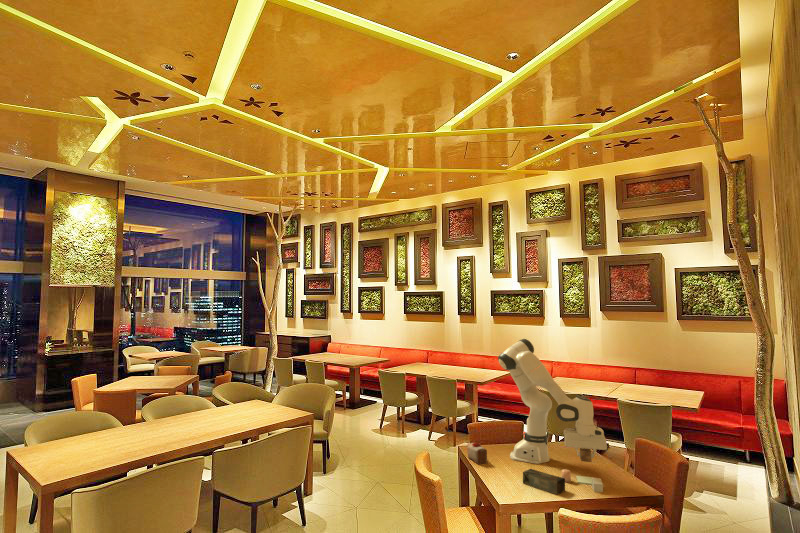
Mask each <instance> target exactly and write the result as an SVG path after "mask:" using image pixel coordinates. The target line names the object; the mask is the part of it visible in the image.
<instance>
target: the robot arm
mask: <svg viewBox="0 0 800 533" xmlns="http://www.w3.org/2000/svg"><path fill="white" fill-rule="evenodd" d="M534 352H535V347H534V345H533V344H532V342H531V341H530V340H529V339H527V338H522V339H519V340H518V341H516V342H515V343H513V344H511V345H510V346H509V347H508V348H506V349H505V350H504V351H503V352H500V354H499V355H498V357H497V361H498V364H499V365H500V367H501V368H502V369H503V370H506V371H508V372H509V374H510V376H511V378H512V379H513V382H514V383H515V385H516V386H517V388H518V391H519V393H520V398H521V401H522V402H523V403H524V405H525V406H526V407H529V415H528V417H527V419H526V431H523V432H522V435H523V436H522V437H523V438H522V440H519V441H518V442H517V443H516V444H515V445H514V448H513V450H512V451H511V452H510V454H509V458H510V460H513V461H518V462H525V463H529V464H535V465H540V464H542V463H543V464H544V463H549V462H550V460H551V458H550V456H549V455H550V454H549V449H548V443H549V442H548V441H549V438H548V434H547V433H548V432H547V419H548V415H549V412H550V411H551V409H552V406H553V401H552V399H551V398H550V397H549V396H548V395H547V394H546V393H545V392H542V391H540V390H539V389H538V387H540V388H543V389H545V390H546V391H548V392H549V394H550V395H551V397H552V398H553V399H554V400H555V401H556V402H557V404H558V405H557V407H556V408H555V413H556V416H557V418H558V419H559V420H561V421H562V422H566V423H567V422H568V423H569V422H575V428H572V427H571V428H569V427H566V428H564V430H563V437H564V445H565V447H566V448H574V450H575V451H576V453H577V457H581V453H580V451H579V449H580V448H585V449H590V450H593V451H592V452H591V458H593V459H595V454H596V453H597V450H600V451H601V450H602V451H606V450H607V449H608V446H607V445H608V444H607V440H606V437H605V434H604V433H605V432H604V430H603V429H602V428H601V427H598V426H596V425H595V423H594V405H593V401H592V400H591V399H590V398H588V397H585V396H582V395H581V396H580V395H578V396H576V397H575V398H571V397H570V396H568V395H567V394H566V393H565V391H564V390H563V389H561V387H560V386H559V384H558V383H557V382H556V381H555V380H554V378H553V377H552V375H551V373H550V372H549V371H548V369H547V368H546V366H545V365H544V363H543V362H542V361H541V360H540V359H539V358H538V357H537V355H536V354H535V353H534Z"/></svg>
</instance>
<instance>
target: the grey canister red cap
mask: <svg viewBox="0 0 800 533" xmlns="http://www.w3.org/2000/svg"><path fill="white" fill-rule="evenodd" d="M466 451H467V458H468V459H470V460H472V461H473V462H475V463H476V464H477V465H485V464H487V463H488V450H487V449H486V447H485V448H484V447H483V446H482V445H481V443H479V442H470V443H467V450H466Z"/></svg>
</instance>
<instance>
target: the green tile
mask: <svg viewBox="0 0 800 533" xmlns="http://www.w3.org/2000/svg"><path fill="white" fill-rule="evenodd" d="M575 477H576V480H577V484H580V485H581V484H583V485H591V486H592V478H595V477H593V476H582V475H576V476H575Z"/></svg>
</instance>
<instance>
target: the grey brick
mask: <svg viewBox="0 0 800 533" xmlns="http://www.w3.org/2000/svg"><path fill="white" fill-rule="evenodd" d="M591 486H592V489H593V492H594V491H595V492H594V493H600V492H603V493H604V484H603V481H602V479H601V478H600V477H594V478H592V485H591Z"/></svg>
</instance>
